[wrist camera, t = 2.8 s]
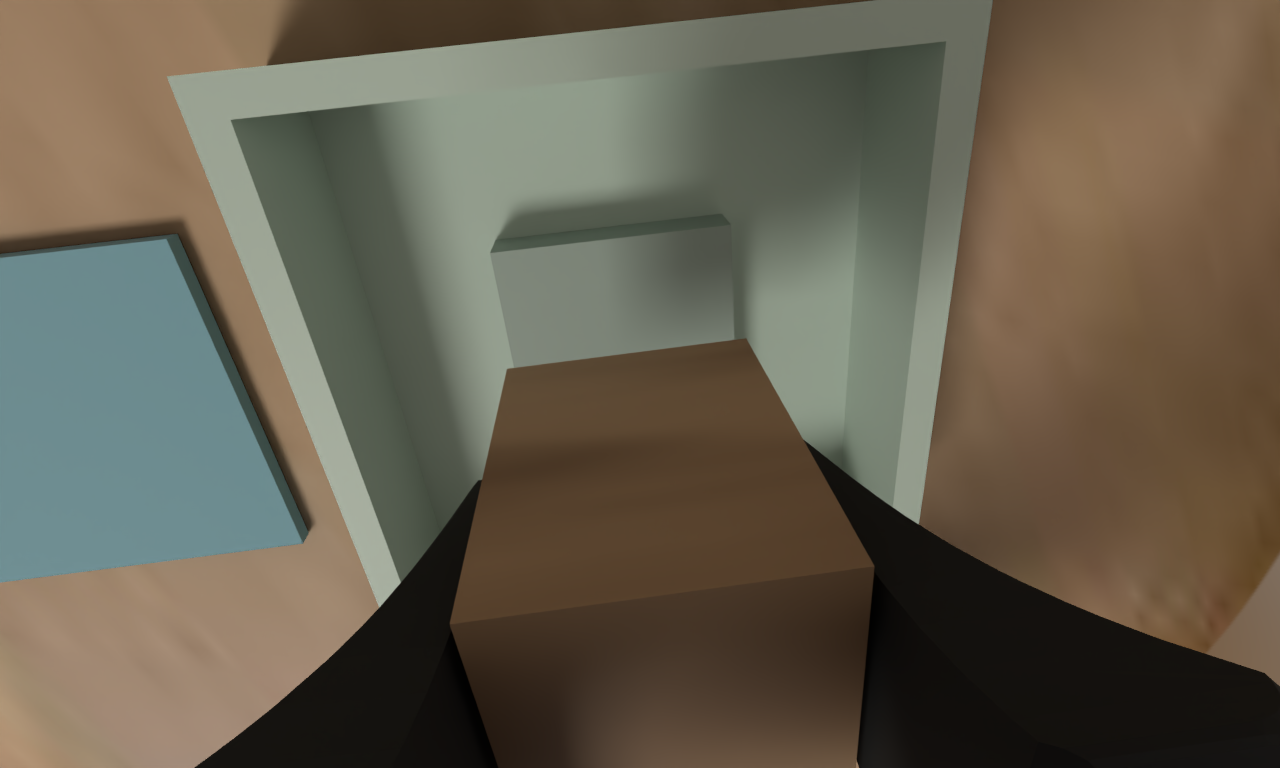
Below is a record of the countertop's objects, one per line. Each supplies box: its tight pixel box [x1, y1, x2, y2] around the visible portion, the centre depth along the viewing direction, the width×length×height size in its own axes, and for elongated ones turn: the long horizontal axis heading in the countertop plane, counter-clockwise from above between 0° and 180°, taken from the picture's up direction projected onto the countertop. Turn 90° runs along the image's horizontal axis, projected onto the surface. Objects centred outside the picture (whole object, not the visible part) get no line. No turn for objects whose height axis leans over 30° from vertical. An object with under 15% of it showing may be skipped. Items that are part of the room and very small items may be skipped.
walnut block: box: [450, 338, 875, 768], centre depth 10 cm, size 4×4×6 cm
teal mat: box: [0, 234, 308, 582], centre depth 19 cm, size 10×10×1 cm
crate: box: [167, 0, 993, 607], centre depth 17 cm, size 15×15×4 cm
